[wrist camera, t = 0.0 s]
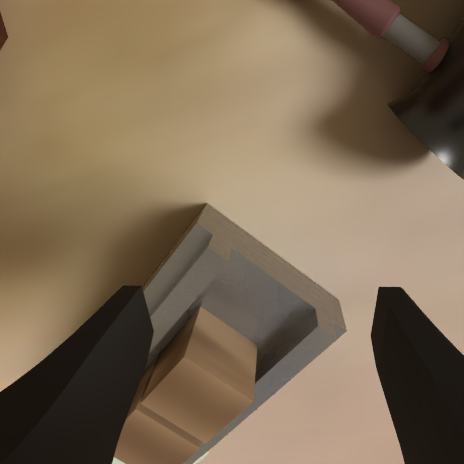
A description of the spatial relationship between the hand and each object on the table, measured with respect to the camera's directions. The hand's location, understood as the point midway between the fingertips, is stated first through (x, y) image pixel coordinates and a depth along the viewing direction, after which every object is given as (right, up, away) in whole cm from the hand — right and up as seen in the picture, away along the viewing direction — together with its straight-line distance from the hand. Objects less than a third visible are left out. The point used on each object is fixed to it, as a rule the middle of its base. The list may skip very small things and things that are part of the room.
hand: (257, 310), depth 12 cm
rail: (-2, -4, +13) cm, 14 cm away
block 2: (-2, -4, +10) cm, 11 cm away
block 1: (-5, -7, +12) cm, 15 cm away
